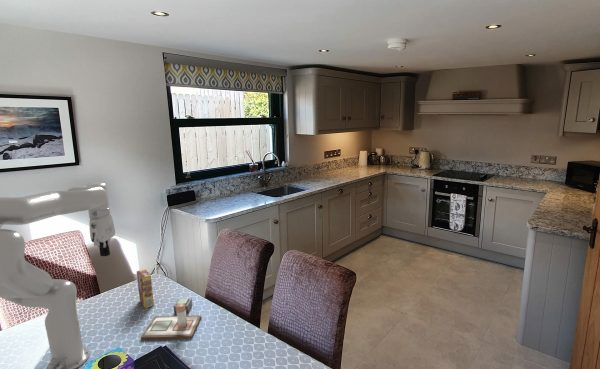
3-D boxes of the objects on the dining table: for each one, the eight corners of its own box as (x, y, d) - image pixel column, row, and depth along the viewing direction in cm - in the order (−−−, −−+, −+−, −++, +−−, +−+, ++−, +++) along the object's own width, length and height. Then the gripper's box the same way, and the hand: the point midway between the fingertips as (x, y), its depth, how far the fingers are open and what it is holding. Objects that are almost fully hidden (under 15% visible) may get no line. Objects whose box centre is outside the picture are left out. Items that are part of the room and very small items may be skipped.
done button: (186, 308, 155) (185, 303, 154) (177, 308, 155) (176, 303, 154) (189, 303, 159) (188, 298, 158) (180, 303, 159) (179, 298, 158)
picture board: (191, 338, 137) (191, 335, 136) (140, 340, 137) (140, 336, 136) (201, 317, 150) (201, 314, 150) (155, 318, 150) (154, 316, 150)
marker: (186, 327, 142) (183, 307, 140) (177, 328, 141) (174, 308, 139) (188, 321, 145) (185, 302, 143) (179, 323, 145) (176, 303, 142)
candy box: (154, 305, 161) (151, 275, 158) (145, 308, 158) (141, 278, 155) (149, 297, 168) (145, 268, 165) (139, 300, 165) (135, 271, 162)
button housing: (188, 313, 154) (187, 305, 154) (174, 313, 154) (173, 306, 154) (192, 305, 160) (191, 298, 160) (178, 305, 160) (178, 298, 160)
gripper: (97, 218, 134) (103, 262, 138) (118, 208, 149) (123, 248, 153) (78, 218, 135) (85, 262, 138) (101, 208, 149) (107, 248, 153)
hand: (105, 255), depth 145 cm, fingers closed
